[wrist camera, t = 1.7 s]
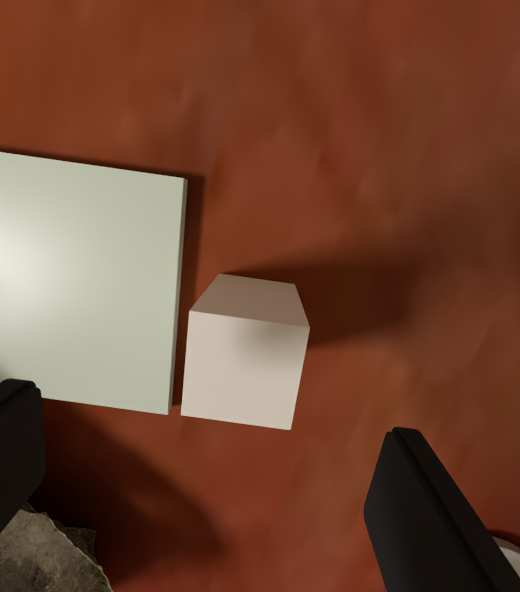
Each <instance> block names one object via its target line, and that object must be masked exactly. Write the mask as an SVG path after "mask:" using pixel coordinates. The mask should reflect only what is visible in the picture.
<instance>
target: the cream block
mask: <svg viewBox="0 0 520 592" xmlns="http://www.w3.org/2000/svg"><path fill="white" fill-rule="evenodd" d="M309 330H310V326H309V323H308V320H307V318H306V315H305V312H304V309H303V306H302V303H301V300H300V298H299V295H298V292H297V289H296V286H295V284H291V283H284V282H276V281H269V280H262V279H255V278H248V277H241V276H234V275H227V274H219V275H218V276H217V277H216V278H215V280H214V281H213V282H212V283H211V285H210V286H209V287H208V288H207V290H206V291H205V292H204V293H203V295H202V296H201V297H200V298H199V299H198V301H197V302H196V303H195V304H194V306H193V307H192V308H191V309H190V311H189V321H188V333H187V345H186V358H185V370H184V382H183V395H182V407H181V415H184V416H191V417H198V418H206V419H213V420H220V421H228V422H235V423H242V424H249V425H257V426H264V427H271V428H279V429H286V430H290V429H291V424H292V419H293V414H294V408H295V403H296V398H297V393H298V388H299V382H300V377H301V372H302V367H303V362H304V356H305V351H306V346H307V341H308V336H309Z"/></svg>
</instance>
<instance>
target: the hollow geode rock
mask: <svg viewBox="0 0 520 592" xmlns="http://www.w3.org/2000/svg"><path fill="white" fill-rule="evenodd" d="M96 532H97V531H94V530H90V529H86V528H76V527H64V526H63V525H62V523H61V522H60V521H56V520H52V519H50V517H49V516H48V515H47V513H46V512H41V513H37V512H36V511H35V510H34V509H33V507H32V506H31V505H30V504H29V503H28V502H27V501H26V502H25V504H24V505H23V506H22V507H21V509H20V510H19V511H18V512H17V514H16V515H15V516H14V517H13V519H12V520H11V521H10V522H9V524H8V525H7V526H6V527H5V529H4V530H3V531H2V532H1V533H0V592H113V591H112V589H111V587H110V583H109V580H108V578H107V577H106V576H105V575H104V574H103V569H102V566H99V564H98V563H97V560H96V558H95V556H94V540H95V536H96Z"/></svg>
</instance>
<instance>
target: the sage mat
mask: <svg viewBox="0 0 520 592" xmlns="http://www.w3.org/2000/svg"><path fill="white" fill-rule="evenodd" d="M187 186H188V180H187V179H184V178H178V177H171V176H164V175H157V174H150V173H143V172H136V171H129V170H122V169H115V168H108V167H101V166H94V165H87V164H80V163H73V162H66V161H59V160H52V159H45V158H38V157H31V156H24V155H17V154H10V153H3V152H0V382H2V381H3V380H5V379H8V378H13V379H21V380H29V381H33V382H34V383H35V384H36V387H37V388H39V389H40V390H41V397H42V398H49V399H56V400H63V401H71V402H78V403H85V404H93V405H100V406H107V407H114V408H122V409H129V410H136V411H144V412H151V413H158V414H165V415H168V413H169V411H170V409H171V407H172V397H173V383H174V369H175V355H176V341H177V327H178V313H179V299H180V285H181V270H182V256H183V242H184V228H185V214H186V200H187Z"/></svg>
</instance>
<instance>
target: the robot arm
mask: <svg viewBox="0 0 520 592" xmlns="http://www.w3.org/2000/svg"><path fill="white" fill-rule="evenodd" d="M46 468H47V466H46V452H45V438H44V425H43V411H42V397H41V390H40V389H39V388H37V387H36V384H35V383H34V382H33V381H29V380H21V379H13V378H8V379H5V380H3V381H2V382H0V533H1V532H2V531H3V530H4V529H5V527H6V526H7V525H8V524H9V522H10V521H11V520H12V519H13V517H14V516H15V515H16V514H17V512H18V511H19V510H20V509H21V507H22V506H23V505H24V504H25V502H26V501H27V500H28V499H29V497H30V496H31V495H32V494H33V492H34V491H35V490H36V489H37V487H38V486H39V485H40V483H41V482H42V480H43V478H44V476H45V474H46ZM364 520H365V523H366V527H367V530H368V533H369V536H370V539H371V542H372V546H373V549H374V552H375V555H376V558H377V561H378V565H379V568H380V571H381V574H382V577H383V580H384V583H385V587H386V590H387V592H520V548H519V547H517V546H515V545H514V544H512V543H510V542H508V541H505V540H503V539H500V538H497V537H493V536H491V534H490V533H489V532H488V530H487V529H486V527H485V526H484V524H483V523H482V521H481V520H480V518H479V517H478V515H477V514H476V513H475V511H474V510H473V508H472V507H471V505H470V504H469V502H468V501H467V499H466V498H465V496H464V495H463V494H462V492H461V491H460V489H459V488H458V486H457V485H456V483H455V482H454V480H453V479H452V477H451V476H450V475H449V473H448V472H447V470H446V469H445V467H444V466H443V464H442V463H441V461H440V460H439V459H438V457H437V456H436V454H435V453H434V451H433V450H432V448H431V447H430V445H429V444H428V442H427V441H426V440H425V438H424V437H423V435H422V434H421V432H420V431H419V430H417V429H410V428H402V427H394V428H393V430H392V432H387V433H386V435H385V438H384V442H383V445H382V448H381V452H380V455H379V458H378V461H377V465H376V468H375V471H374V475H373V478H372V481H371V485H370V488H369V491H368V494H367V498H366V501H365V504H364Z"/></svg>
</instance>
